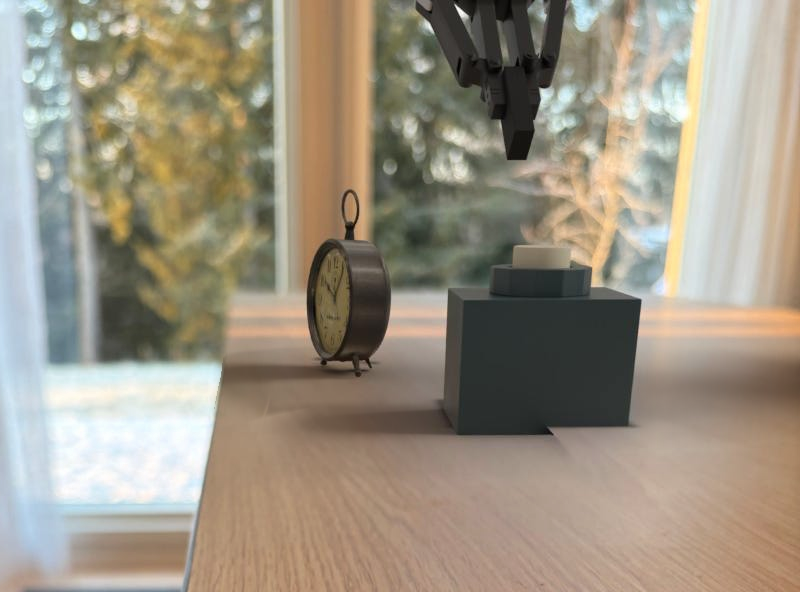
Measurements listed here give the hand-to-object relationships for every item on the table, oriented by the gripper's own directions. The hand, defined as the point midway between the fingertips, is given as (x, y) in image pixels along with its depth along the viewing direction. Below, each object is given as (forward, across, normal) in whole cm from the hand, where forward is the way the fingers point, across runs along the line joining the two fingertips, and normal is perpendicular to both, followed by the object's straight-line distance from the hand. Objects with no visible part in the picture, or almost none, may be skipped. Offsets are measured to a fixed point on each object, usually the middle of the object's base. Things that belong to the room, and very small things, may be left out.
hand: (520, 145), depth 78 cm
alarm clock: (0, +11, -27) cm, 29 cm away
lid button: (+11, 0, -1) cm, 11 cm away
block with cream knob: (+18, 0, -8) cm, 20 cm away
